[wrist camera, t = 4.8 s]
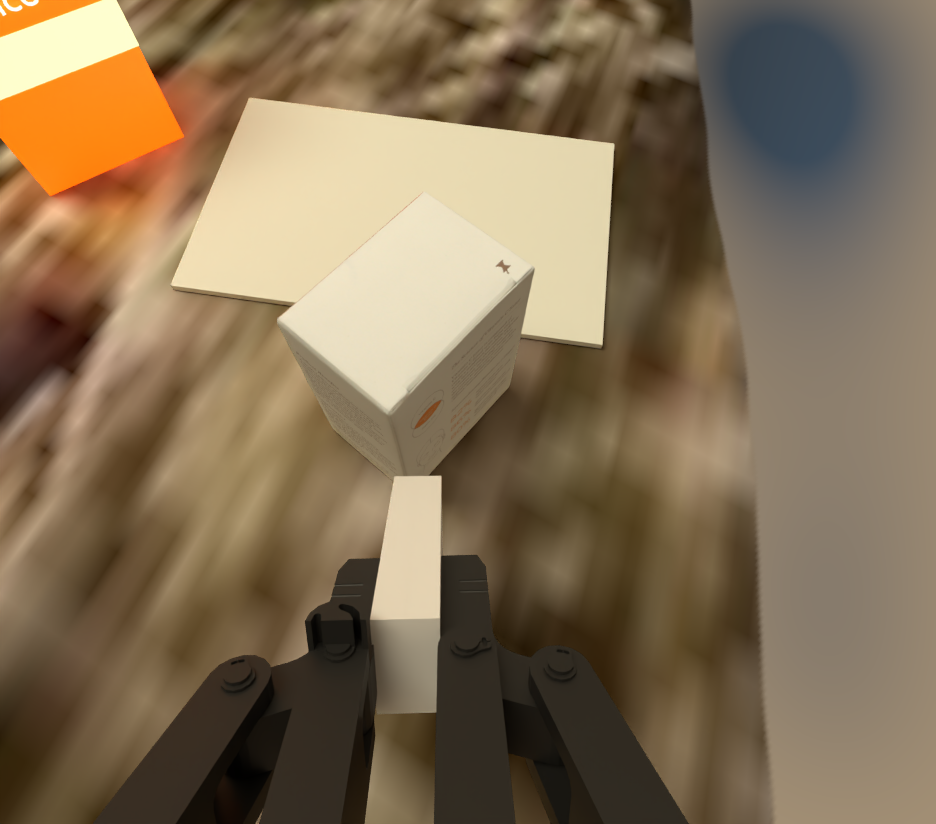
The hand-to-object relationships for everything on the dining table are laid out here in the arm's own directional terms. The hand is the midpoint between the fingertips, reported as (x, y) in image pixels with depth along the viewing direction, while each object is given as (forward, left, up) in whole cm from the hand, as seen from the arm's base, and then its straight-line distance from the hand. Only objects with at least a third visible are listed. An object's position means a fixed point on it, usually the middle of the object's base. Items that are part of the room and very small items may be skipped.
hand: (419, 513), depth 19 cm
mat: (-5, +20, -9) cm, 22 cm away
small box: (-2, +8, -9) cm, 12 cm away
